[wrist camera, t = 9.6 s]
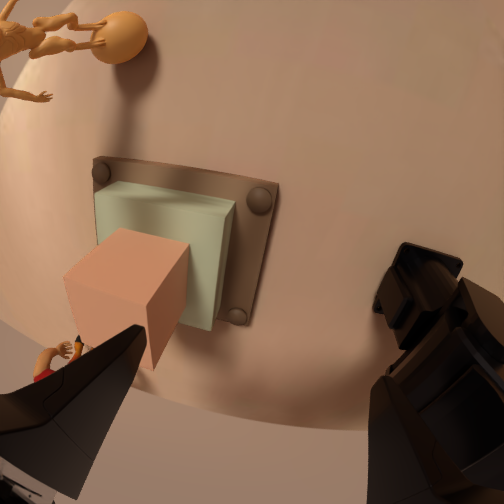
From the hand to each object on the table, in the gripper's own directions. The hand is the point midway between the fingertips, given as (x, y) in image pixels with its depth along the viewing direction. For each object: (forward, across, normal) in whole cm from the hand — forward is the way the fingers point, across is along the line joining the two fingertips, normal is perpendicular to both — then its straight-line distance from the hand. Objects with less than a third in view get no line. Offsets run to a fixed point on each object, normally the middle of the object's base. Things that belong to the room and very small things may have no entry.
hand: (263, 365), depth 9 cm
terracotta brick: (+8, +8, +3) cm, 12 cm away
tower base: (+12, +8, +3) cm, 15 cm away
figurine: (+12, +14, -12) cm, 22 cm away
